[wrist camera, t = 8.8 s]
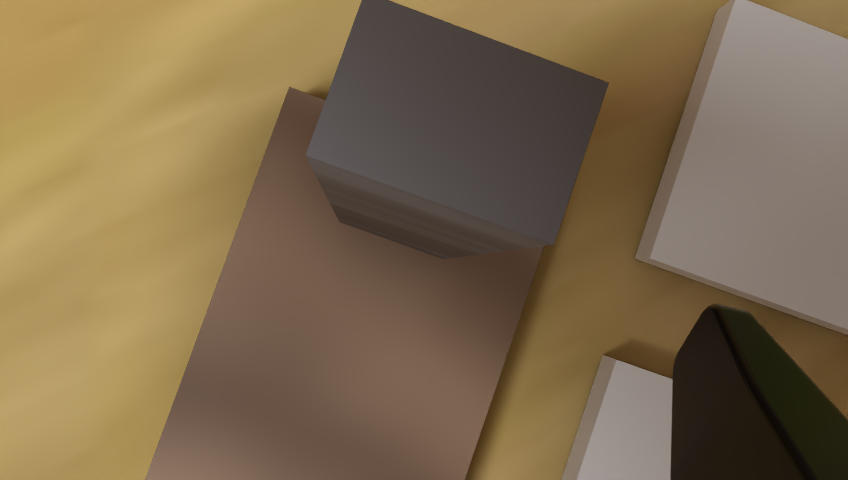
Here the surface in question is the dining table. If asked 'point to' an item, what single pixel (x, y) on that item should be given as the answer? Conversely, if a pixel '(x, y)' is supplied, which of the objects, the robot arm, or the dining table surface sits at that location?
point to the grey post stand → (382, 261)
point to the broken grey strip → (738, 212)
